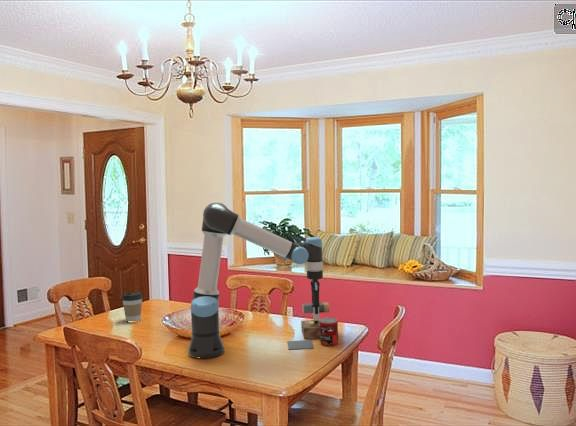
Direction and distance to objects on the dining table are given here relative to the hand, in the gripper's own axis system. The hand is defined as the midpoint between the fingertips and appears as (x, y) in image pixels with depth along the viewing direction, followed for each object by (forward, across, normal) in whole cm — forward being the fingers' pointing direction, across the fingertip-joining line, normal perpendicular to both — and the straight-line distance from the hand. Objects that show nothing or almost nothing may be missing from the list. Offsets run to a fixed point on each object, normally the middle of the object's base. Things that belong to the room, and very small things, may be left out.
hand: (315, 318), depth 239 cm
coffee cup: (+8, +36, +96) cm, 103 cm away
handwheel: (+2, 0, 0) cm, 2 cm away
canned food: (+8, -15, -4) cm, 17 cm away
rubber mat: (+8, -15, +9) cm, 19 cm away
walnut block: (+8, 0, 0) cm, 8 cm away
